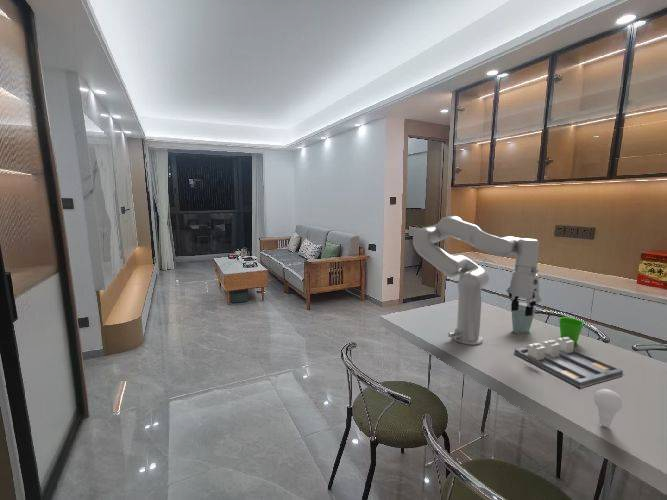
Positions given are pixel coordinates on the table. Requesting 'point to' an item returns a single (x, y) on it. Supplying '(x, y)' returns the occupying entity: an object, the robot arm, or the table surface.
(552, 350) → the white stepped block
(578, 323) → the cup
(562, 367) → the switch board
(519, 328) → the disposable coffee cup
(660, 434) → the table surface
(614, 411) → the lightbulb
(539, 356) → the white stepped block
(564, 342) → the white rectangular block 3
